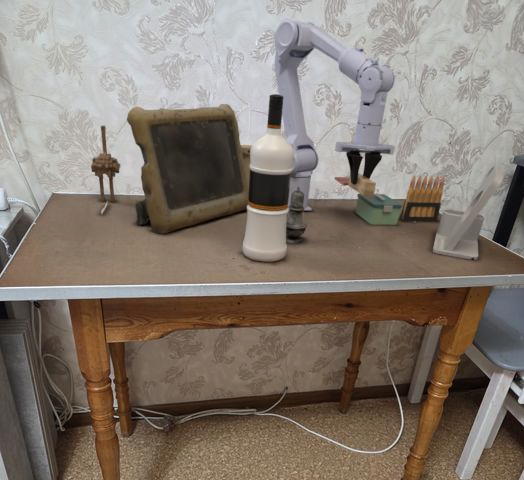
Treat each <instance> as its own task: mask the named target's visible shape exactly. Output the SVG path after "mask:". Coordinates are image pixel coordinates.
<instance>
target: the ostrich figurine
mask: <svg viewBox="0 0 524 480" xmlns="http://www.w3.org/2000/svg"><path fill="white" fill-rule="evenodd" d="M106 129H107V128H106V125H104V124H103V125H101V126H100V132H101V134H100V135H101V144H102V145H101V146H102V153H99V154H98V156H97V157H93V158H92V163H91V165H90V170H91V172H92V173H94V176H95V177H98V182H99V193H100V194H99V195H100V202H105V201H106V197H105V185H104V175H106V176H107V178H108V182H109V185H108V186H109V195H110V202H111V203H115V201H116V197H115V189H114V178H115V177H116V174H120V169H121V162H119V161H118V159H117V158H115V157H112V154H111V153H108V149H107V137H106ZM108 205H109V203H108V202H106V203H105V204H104V206H103V208H102V209H101V212H100V214H103V213H104V212H105V210H106V208H107V207H108Z"/></svg>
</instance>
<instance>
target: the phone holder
mask: <svg viewBox="0 0 524 480" xmlns="http://www.w3.org/2000/svg"><path fill="white" fill-rule="evenodd" d="M503 180H504V176H503V173H502V170H501V168H499V167H497V166H496V165H492V167H491V168H490V169H489V171H488V172H487V174H486V175H485V177H483V179H482V181H481V183H480V185H479V187H478V188H477V190H476V192H475V194H474V196H473V198H472V199H471V201H470V204H469V205H468V206H467V208H466V209H465V210H464V211H461V210H454V209H444V210H443V211H442V213H441V217H440V220H439V224H438V227H437V231H436V234H435V237H434V242H433V247H432V252H433V253H435V254H437V255H444V256H449V257H455V258H460V259H465V260H472V259H473V260H474V261H476V260H478V258H479V242H478V241H479V237H480V233H481V230H482V227H483V224H484V220H485V217H484V215H482V214H480V213H481V212H482V210H483V209H484V208H485V206H486V204H487V203H488V202H489V201H490V200H491V198H492V197H493V195H494V194H495V192H496V191H497V189H498V188H499V187H500V185H501V184H502V183H503Z"/></svg>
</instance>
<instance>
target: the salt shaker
mask: <svg viewBox="0 0 524 480" xmlns="http://www.w3.org/2000/svg"><path fill="white" fill-rule="evenodd" d="M299 189H300V187H299V186H298V188H297V190H296V191H294V192H292V194H291V203H290V206H289V207H288V208H289V211H288V216H287V221H286V244H287V243H288V244H297V245H299V244H303V243H304V242H305V239H304V238H303V237H302V235H304V234H305V232H306V230H307V228H308V224H307V223H305V222H304V221H303V213H304V211H303V210H304V207H303V202H304V193H303V192H301V191H300V190H299Z"/></svg>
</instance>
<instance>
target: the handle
mask: <svg viewBox="0 0 524 480" xmlns="http://www.w3.org/2000/svg"><path fill="white" fill-rule="evenodd" d="M240 145H241V148H242V152H243V160H244V163H245V164H244V169H245V173H246V179H247V185H248V190H249V179H250V167H249V165H250V149H251V147H252V145H250V144H240Z"/></svg>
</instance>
